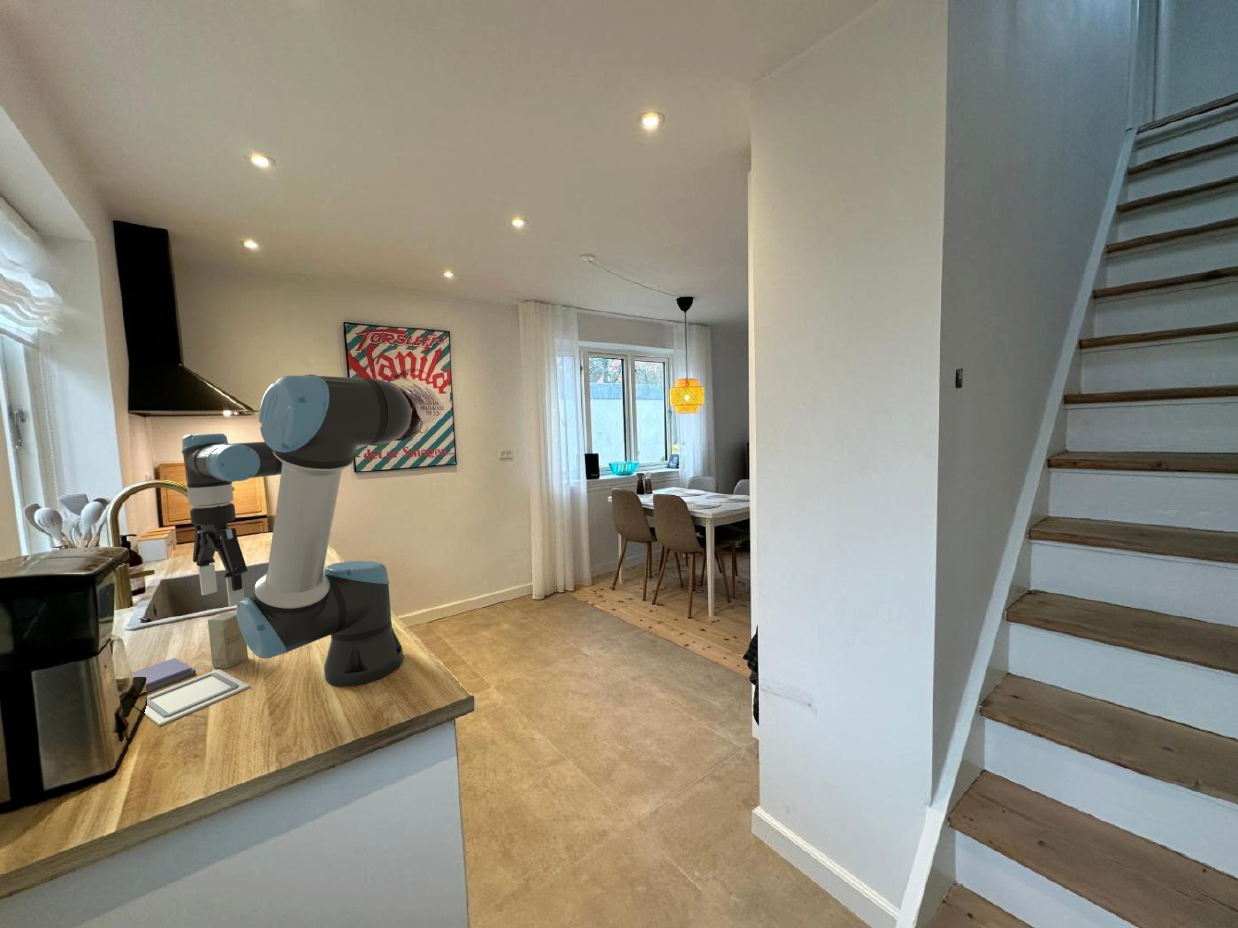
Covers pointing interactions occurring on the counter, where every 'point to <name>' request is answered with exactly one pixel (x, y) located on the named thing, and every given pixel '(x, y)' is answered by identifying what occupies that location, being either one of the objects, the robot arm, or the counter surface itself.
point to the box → (226, 641)
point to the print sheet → (191, 696)
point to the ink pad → (164, 673)
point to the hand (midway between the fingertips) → (222, 598)
